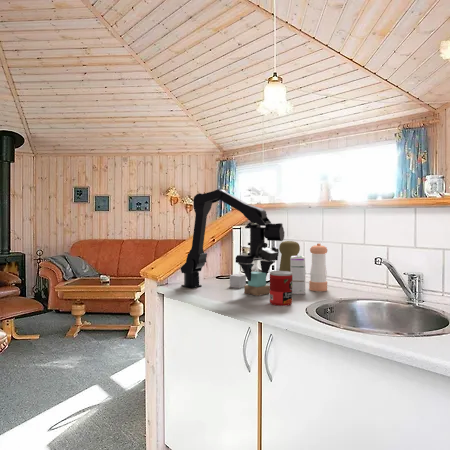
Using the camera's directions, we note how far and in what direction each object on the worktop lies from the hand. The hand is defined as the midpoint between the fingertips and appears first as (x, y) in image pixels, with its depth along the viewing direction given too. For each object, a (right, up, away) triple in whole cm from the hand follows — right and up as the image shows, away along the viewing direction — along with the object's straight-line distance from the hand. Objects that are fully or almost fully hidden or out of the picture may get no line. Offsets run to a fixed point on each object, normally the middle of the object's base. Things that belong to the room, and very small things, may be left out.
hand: (257, 279), depth 160 cm
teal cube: (0, -2, 0) cm, 2 cm away
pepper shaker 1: (+16, -5, +20) cm, 26 cm away
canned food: (+7, -6, -18) cm, 20 cm away
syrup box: (+16, -6, +2) cm, 17 cm away
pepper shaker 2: (+26, -5, +7) cm, 27 cm away
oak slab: (0, -5, 0) cm, 5 cm away
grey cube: (-7, -5, +14) cm, 16 cm away
